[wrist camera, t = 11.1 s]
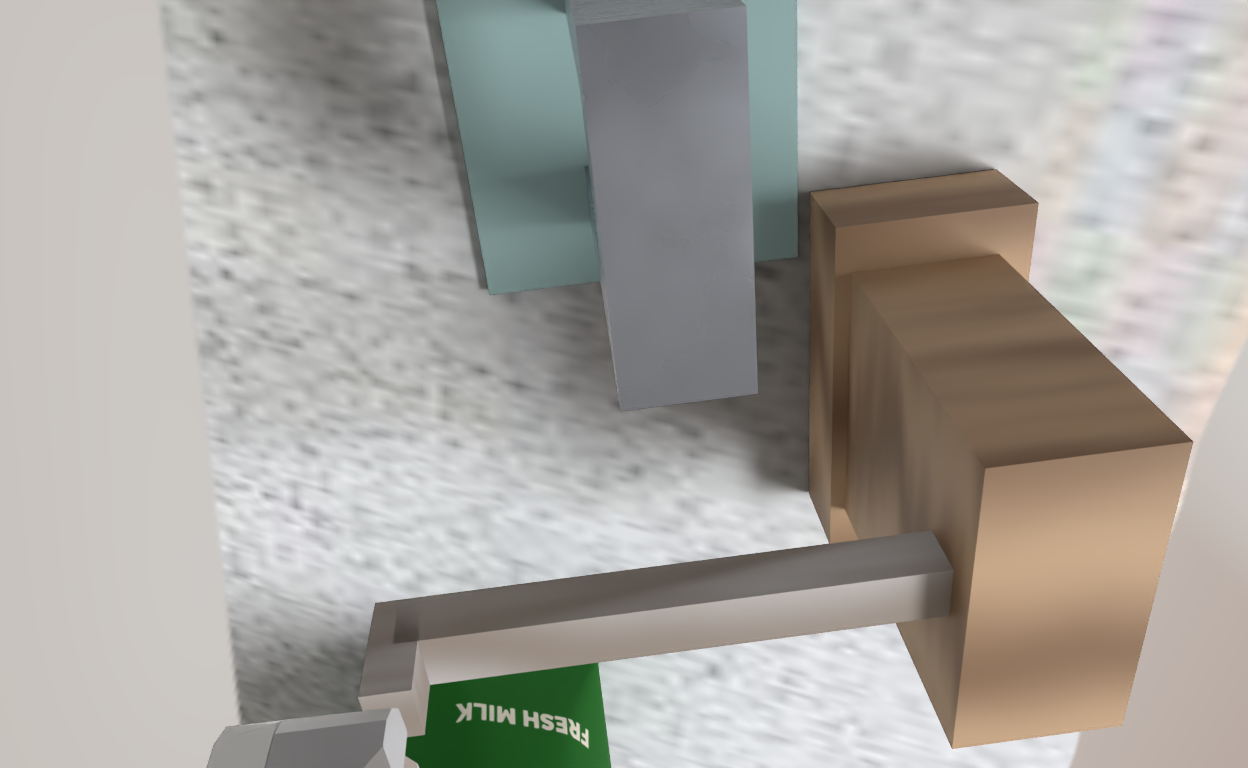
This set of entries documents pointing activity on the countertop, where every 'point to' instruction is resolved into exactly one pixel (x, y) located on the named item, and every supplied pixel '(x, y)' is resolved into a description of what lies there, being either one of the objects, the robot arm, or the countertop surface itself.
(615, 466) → the countertop surface
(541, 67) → the mat
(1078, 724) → the wooden peg hook block
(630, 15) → the grey arched block
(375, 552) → the countertop surface
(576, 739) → the milk carton
